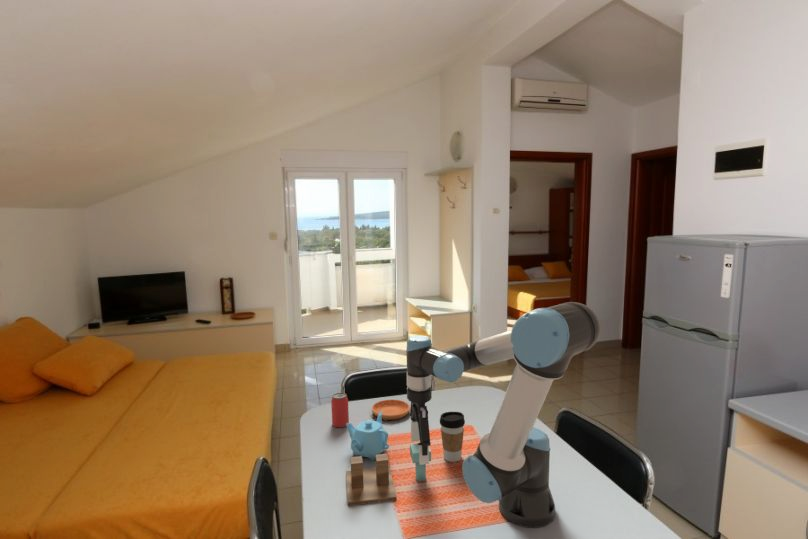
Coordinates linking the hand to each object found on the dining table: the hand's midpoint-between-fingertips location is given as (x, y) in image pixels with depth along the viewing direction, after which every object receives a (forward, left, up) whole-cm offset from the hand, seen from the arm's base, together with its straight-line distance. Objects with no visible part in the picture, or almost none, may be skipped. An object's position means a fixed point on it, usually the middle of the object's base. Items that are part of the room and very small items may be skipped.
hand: (419, 451), depth 139 cm
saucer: (+48, +3, -9) cm, 49 cm away
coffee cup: (+10, -13, -9) cm, 19 cm away
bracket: (-1, +16, -9) cm, 18 cm away
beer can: (+42, +24, -9) cm, 49 cm away
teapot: (+19, +15, -9) cm, 25 cm away
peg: (0, 0, -9) cm, 9 cm away
